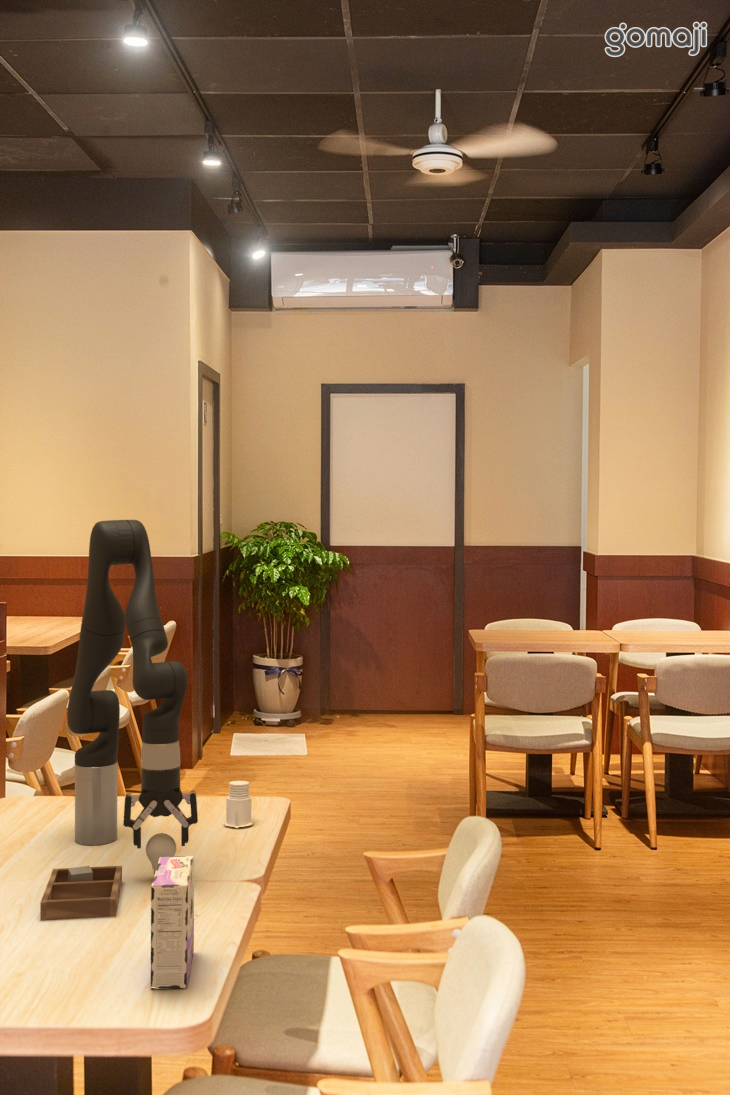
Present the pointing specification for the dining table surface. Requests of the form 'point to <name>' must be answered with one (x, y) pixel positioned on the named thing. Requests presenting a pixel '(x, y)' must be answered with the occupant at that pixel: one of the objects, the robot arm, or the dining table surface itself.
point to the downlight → (238, 804)
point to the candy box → (172, 922)
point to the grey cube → (80, 874)
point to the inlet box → (82, 895)
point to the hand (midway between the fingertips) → (161, 846)
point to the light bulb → (160, 848)
